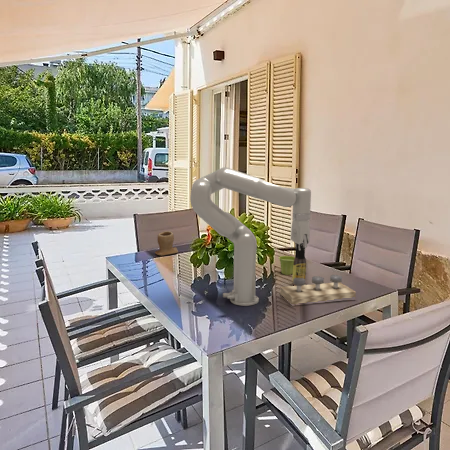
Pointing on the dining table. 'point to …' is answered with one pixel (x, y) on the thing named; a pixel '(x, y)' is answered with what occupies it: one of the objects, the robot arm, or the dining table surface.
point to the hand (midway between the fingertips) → (299, 258)
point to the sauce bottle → (299, 268)
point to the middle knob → (317, 282)
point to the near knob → (299, 283)
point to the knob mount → (316, 293)
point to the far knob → (335, 280)
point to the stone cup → (166, 243)
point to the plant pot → (287, 264)
